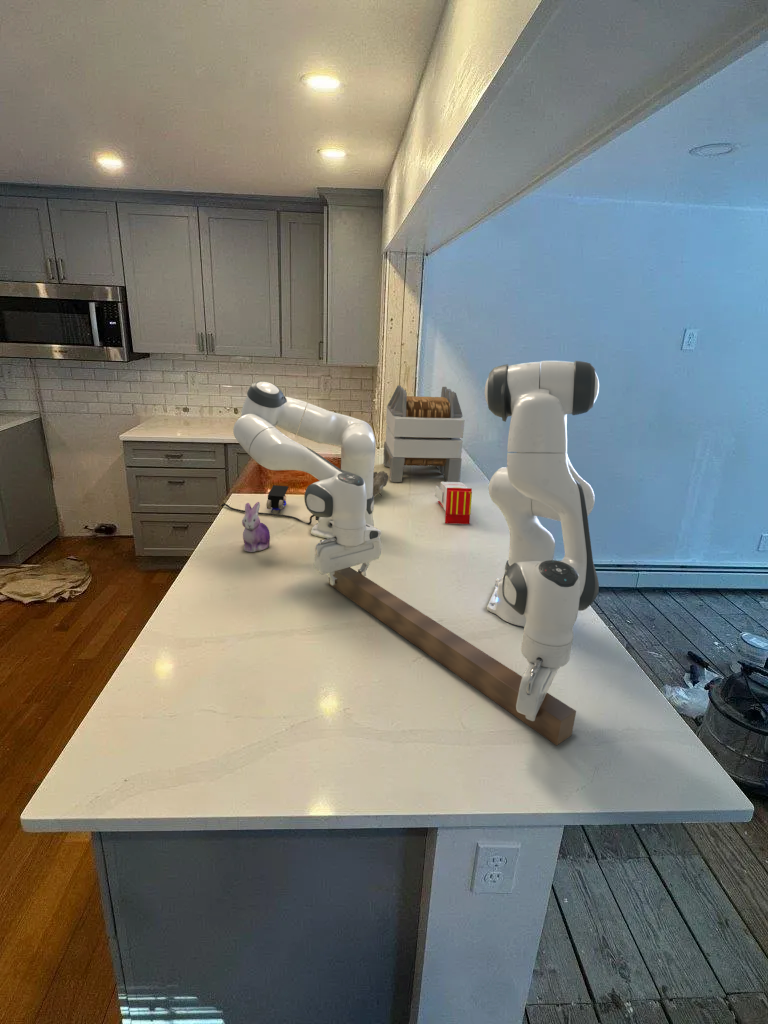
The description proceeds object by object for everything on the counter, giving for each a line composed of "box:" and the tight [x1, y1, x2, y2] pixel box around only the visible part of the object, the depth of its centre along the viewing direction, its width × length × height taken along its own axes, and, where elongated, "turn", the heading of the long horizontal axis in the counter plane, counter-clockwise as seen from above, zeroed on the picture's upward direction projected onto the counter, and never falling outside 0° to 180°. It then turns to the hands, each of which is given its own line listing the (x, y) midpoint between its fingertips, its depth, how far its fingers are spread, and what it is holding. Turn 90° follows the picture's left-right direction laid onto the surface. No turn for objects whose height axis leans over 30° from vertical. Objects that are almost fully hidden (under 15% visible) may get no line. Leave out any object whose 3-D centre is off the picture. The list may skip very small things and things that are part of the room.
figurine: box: [241, 501, 271, 553], centre depth 181 cm, size 9×10×15 cm
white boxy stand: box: [383, 384, 465, 483], centre depth 268 cm, size 34×33×41 cm
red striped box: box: [434, 481, 473, 525], centre depth 222 cm, size 12×13×30 cm
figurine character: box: [266, 484, 289, 514], centre depth 218 cm, size 7×8×15 cm
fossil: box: [373, 470, 389, 498], centre depth 237 cm, size 22×10×15 cm
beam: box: [328, 567, 577, 746], centre depth 134 cm, size 78×5×6 cm, turn 38°
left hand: (347, 579), depth 157 cm, fingers open, 8 cm apart
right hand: (536, 707), depth 110 cm, fingers closed on beam, 6 cm apart
